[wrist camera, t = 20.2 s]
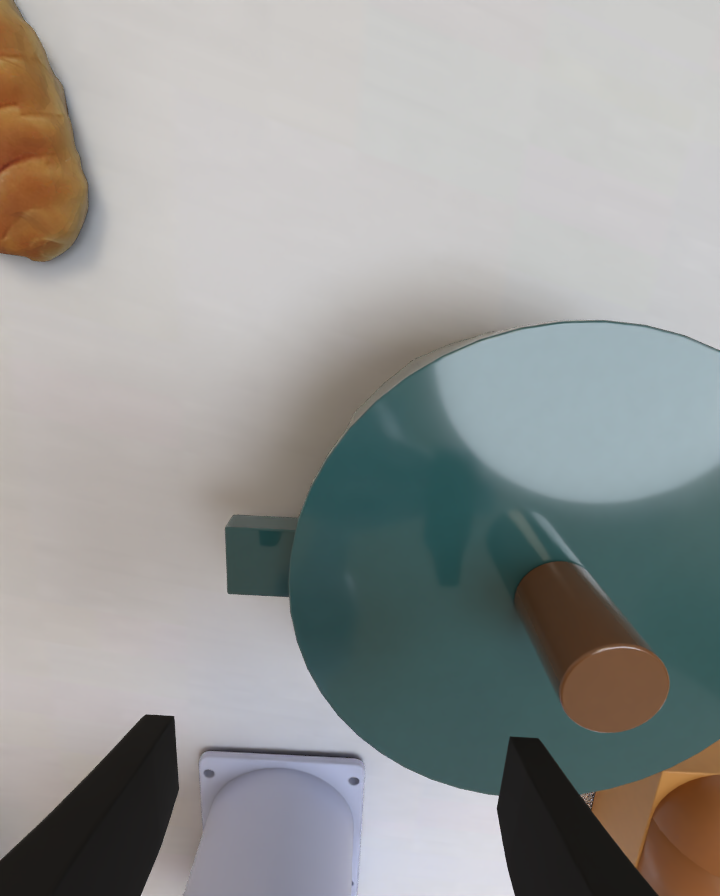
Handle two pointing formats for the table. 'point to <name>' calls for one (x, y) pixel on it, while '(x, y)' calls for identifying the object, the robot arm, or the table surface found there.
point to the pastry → (35, 149)
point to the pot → (282, 527)
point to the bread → (670, 825)
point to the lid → (524, 557)
